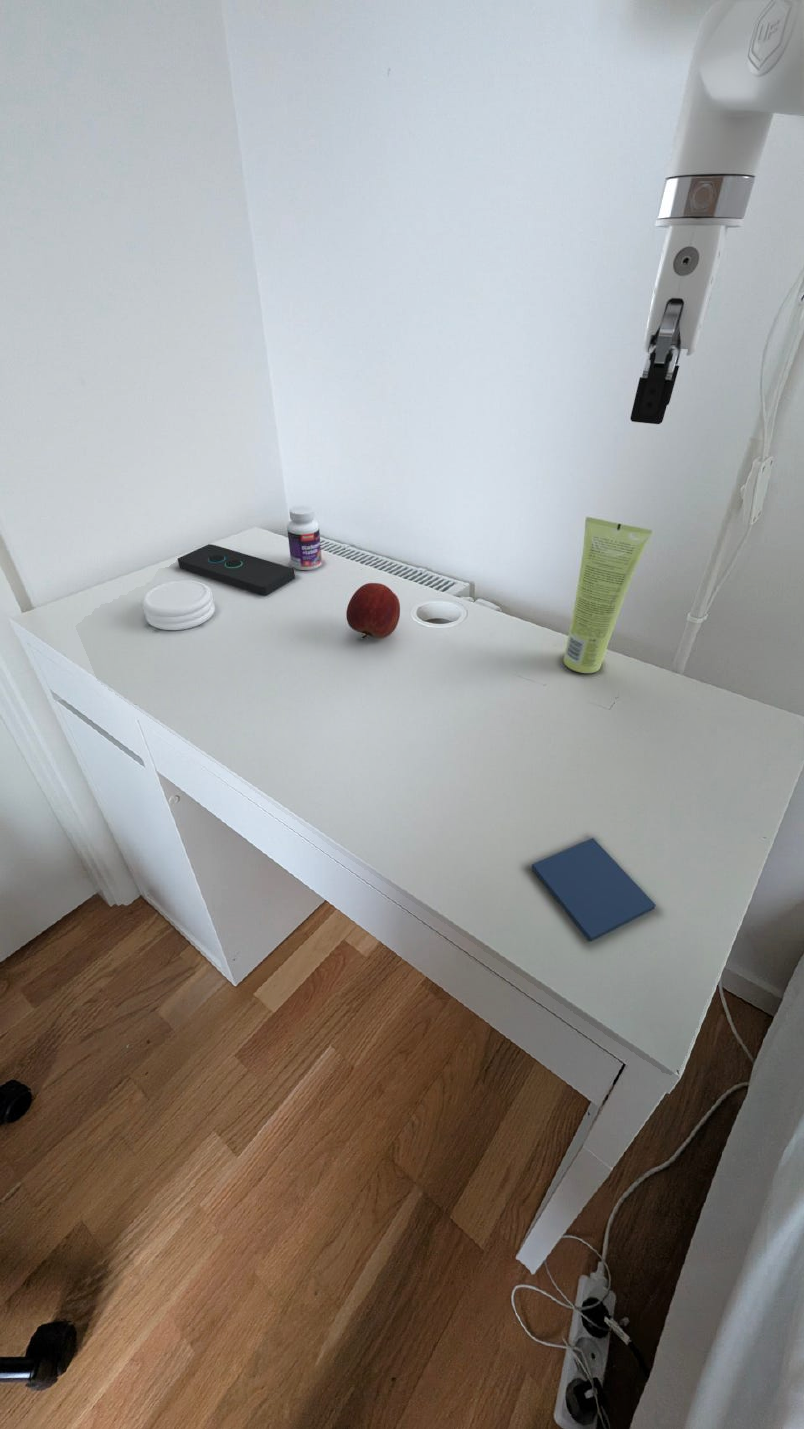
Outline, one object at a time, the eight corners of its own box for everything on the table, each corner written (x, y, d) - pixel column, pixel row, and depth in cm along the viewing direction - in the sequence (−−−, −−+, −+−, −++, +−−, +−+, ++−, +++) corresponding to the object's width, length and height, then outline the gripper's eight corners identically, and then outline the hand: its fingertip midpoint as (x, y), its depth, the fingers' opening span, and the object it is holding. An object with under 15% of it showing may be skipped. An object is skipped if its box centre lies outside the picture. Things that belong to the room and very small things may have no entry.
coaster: (225, 602, 91) (221, 581, 89) (199, 634, 83) (193, 613, 81) (165, 597, 92) (160, 576, 90) (134, 628, 85) (127, 607, 82)
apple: (411, 638, 83) (412, 587, 78) (366, 655, 79) (364, 603, 74) (381, 617, 88) (380, 568, 83) (337, 633, 84) (334, 582, 79)
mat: (654, 908, 49) (656, 905, 49) (589, 942, 47) (591, 938, 47) (591, 841, 55) (593, 837, 55) (531, 868, 52) (532, 864, 52)
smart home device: (210, 542, 105) (296, 567, 97) (212, 551, 106) (297, 577, 98) (174, 558, 99) (262, 587, 91) (176, 568, 100) (264, 596, 93)
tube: (594, 652, 81) (630, 512, 68) (612, 672, 77) (653, 528, 65) (556, 656, 80) (586, 516, 67) (572, 677, 76) (607, 532, 64)
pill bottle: (306, 574, 99) (300, 517, 93) (285, 565, 102) (278, 510, 96) (328, 563, 102) (324, 508, 96) (307, 555, 105) (301, 501, 99)
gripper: (749, 200, 46) (682, 434, 56) (744, 211, 58) (689, 401, 69) (650, 201, 48) (603, 426, 59) (665, 211, 60) (624, 396, 71)
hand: (650, 413), depth 64 cm, fingers open, 9 cm apart
